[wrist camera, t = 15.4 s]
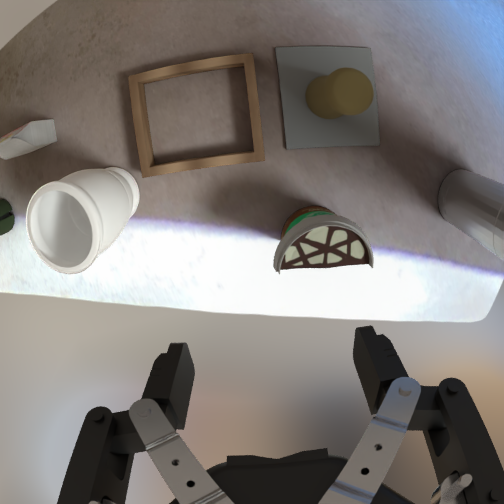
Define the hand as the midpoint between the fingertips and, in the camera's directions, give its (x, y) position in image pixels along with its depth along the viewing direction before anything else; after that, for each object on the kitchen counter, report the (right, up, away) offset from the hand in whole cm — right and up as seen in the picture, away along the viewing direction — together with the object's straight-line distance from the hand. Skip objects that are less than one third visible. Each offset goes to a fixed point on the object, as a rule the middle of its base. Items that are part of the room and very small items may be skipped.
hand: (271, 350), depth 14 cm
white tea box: (-34, +23, +23) cm, 47 cm away
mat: (+9, +25, +22) cm, 34 cm away
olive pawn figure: (+9, +25, +22) cm, 34 cm away
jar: (-21, +13, +28) cm, 37 cm away
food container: (+8, +9, +29) cm, 31 cm away
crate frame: (-8, +22, +23) cm, 33 cm away
